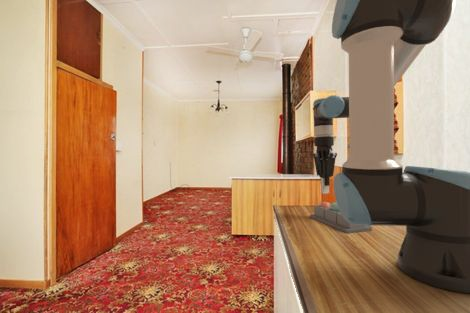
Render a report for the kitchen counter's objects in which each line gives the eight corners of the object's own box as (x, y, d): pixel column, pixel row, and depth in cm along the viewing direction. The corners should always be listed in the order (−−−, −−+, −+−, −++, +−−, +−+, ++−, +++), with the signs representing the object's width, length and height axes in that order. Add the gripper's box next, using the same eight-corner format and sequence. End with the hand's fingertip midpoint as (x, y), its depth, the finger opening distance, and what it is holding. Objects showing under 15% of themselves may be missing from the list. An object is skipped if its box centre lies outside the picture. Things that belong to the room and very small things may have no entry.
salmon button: (332, 213, 94) (332, 203, 94) (324, 214, 93) (324, 204, 93) (326, 211, 97) (326, 201, 97) (318, 212, 96) (318, 202, 96)
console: (371, 230, 79) (371, 215, 79) (347, 233, 76) (347, 218, 76) (329, 214, 100) (329, 203, 100) (309, 217, 98) (309, 205, 98)
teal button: (344, 215, 87) (344, 204, 87) (336, 216, 86) (336, 204, 86) (338, 213, 91) (337, 202, 91) (329, 213, 90) (329, 203, 90)
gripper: (342, 135, 90) (344, 195, 90) (321, 138, 102) (323, 190, 102) (325, 135, 88) (327, 196, 88) (306, 138, 100) (308, 191, 100)
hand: (325, 193), depth 95 cm, fingers closed
